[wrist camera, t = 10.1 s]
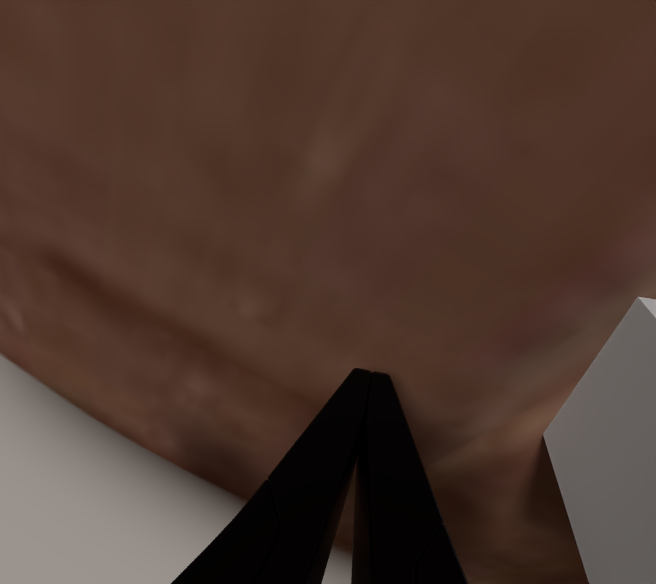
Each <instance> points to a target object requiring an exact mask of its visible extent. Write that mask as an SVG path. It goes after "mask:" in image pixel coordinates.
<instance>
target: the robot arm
mask: <svg viewBox="0 0 656 584" xmlns="http://www.w3.org/2000/svg"><path fill="white" fill-rule="evenodd" d="M358 450H359V451H358ZM357 455H358V458H357ZM356 460H357V466H356V485H355V508H354V532H353V555H352V580H351V581H352V582H351V584H468V582H467V579H466V577H465V574H464V572H463V569H462V567H461V564H460V562H459V559H458V557H457V554H456V552H455V549H454V547H453V544H452V541H451V539H450V536H449V533H448V531H447V528H446V526H445V525H443V523H444V520H443V518H442V515H441V512H440V510H439V507H438V504H437V501H436V499H435V496H434V493H433V491H432V488H431V485H430V483H429V480H428V477H427V474H426V472H425V469H424V466H423V464H422V461H421V458H420V456H419V453H418V450H417V447H416V445H415V442H414V439H413V437H412V434H411V431H410V429H409V426H408V423H407V420H406V418H405V415H404V412H403V410H402V407H401V404H400V402H399V399H398V396H397V393H396V391H395V388H394V385H393V383H392V380H391V377H390V376H389V375H388V374H385V373H380V372H372V374H371V372H370V371H369V370H365V369H360V368H354V369H353V370H352V371H351V373H350V374H349V375H348V376H347V378H346V379H345V380H344V381H343V383H342V384H341V385H340V387H339V388H338V389H337V390H336V392H335V393H334V394H333V395H332V397H331V398H330V399H329V400H328V402H327V403H326V404H325V405H324V407H323V408H322V409H321V411H320V412H319V413H318V414H317V416H316V417H315V418H314V419H313V421H312V422H311V423H310V424H309V426H308V427H307V428H306V430H305V431H304V432H303V433H302V435H301V436H300V437H299V438H298V440H297V441H296V442H295V443H294V445H293V446H292V447H291V449H290V450H289V451H288V452H287V454H286V455H285V456H284V457H283V459H282V460H281V461H280V462H279V464H278V465H277V466H276V468H275V469H274V470H273V471H272V473H271V474H270V475H269V476H268V480H265V481H264V482H263V484H262V485H261V486H260V487H259V489H258V490H257V491H256V492H255V494H254V495H253V496H252V497H251V499H250V500H249V501H248V502H247V503H246V505H245V506H244V507H243V508H242V510H241V511H240V512H239V513H238V514H237V515H236V517H235V518H234V519H233V520H232V521H231V522H230V523H229V524H228V525H227V527H225V528H224V530H223V531H222V532H221V533H220V534H219V535H218V536H217V537H216V538H215V539H214V540H213V541H212V542H211V543H210V545H208V547H207V548H206V549H205V550H204V551H203V552H202V553H201V554H200V555H199V556H198V557H197V558H196V559H195V560H194V561H193V562H192V563H191V564H190V565H189V566H188V567H187V568H186V569H185V570H184V571H183V572H182V573H181V574H180V575H179V576H178V577H177V578H176V579H175V580H174V581H173V582H172V583H171V584H321V583H322V579H323V576H324V572H325V569H326V565H327V562H328V559H329V555H330V552H331V548H332V545H333V542H334V538H335V535H336V531H337V528H338V524H339V521H340V517H341V514H342V511H343V507H344V504H345V500H346V497H347V493H348V490H349V486H350V483H351V480H352V476H353V473H354V469H355V465H356Z"/></svg>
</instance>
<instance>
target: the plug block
mask: <svg viewBox="0 0 656 584" xmlns="http://www.w3.org/2000/svg"><path fill="white" fill-rule="evenodd" d="M543 436H544V440H545V443H546V446H547V449H548V453H549V456H550V459H551V462H552V466H553V469H554V472H555V475H556V478H557V482H558V485H559V488H560V491H561V495H562V498H563V501H564V504H565V507H566V511H567V514H568V517H569V520H570V524H571V527H572V530H573V533H574V537H575V540H576V543H577V546H578V549H579V553H580V556H581V559H582V562H583V566H584V569H585V572H586V575H587V578H588V582H589V584H656V300H655V299H648V298H642V297H637V299H636V300H635V301H634V303H633V304H632V306H631V307H630V309H629V310H628V312H627V313H626V314H625V316H624V317H623V319H622V320H621V322H620V323H619V325H618V326H617V328H616V329H615V330H614V332H613V333H612V335H611V336H610V338H609V339H608V341H607V342H606V343H605V345H604V346H603V348H602V349H601V351H600V352H599V354H598V355H597V356H596V358H595V359H594V361H593V362H592V364H591V365H590V367H589V368H588V370H587V371H586V372H585V374H584V375H583V377H582V378H581V380H580V381H579V383H578V384H577V385H576V387H575V388H574V390H573V391H572V393H571V394H570V396H569V397H568V398H567V400H566V401H565V403H564V404H563V406H562V407H561V409H560V410H559V412H558V413H557V414H556V416H555V417H554V419H553V420H552V422H551V423H550V425H549V426H548V427H547V429H546V430H545V432H544V433H543Z"/></svg>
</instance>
